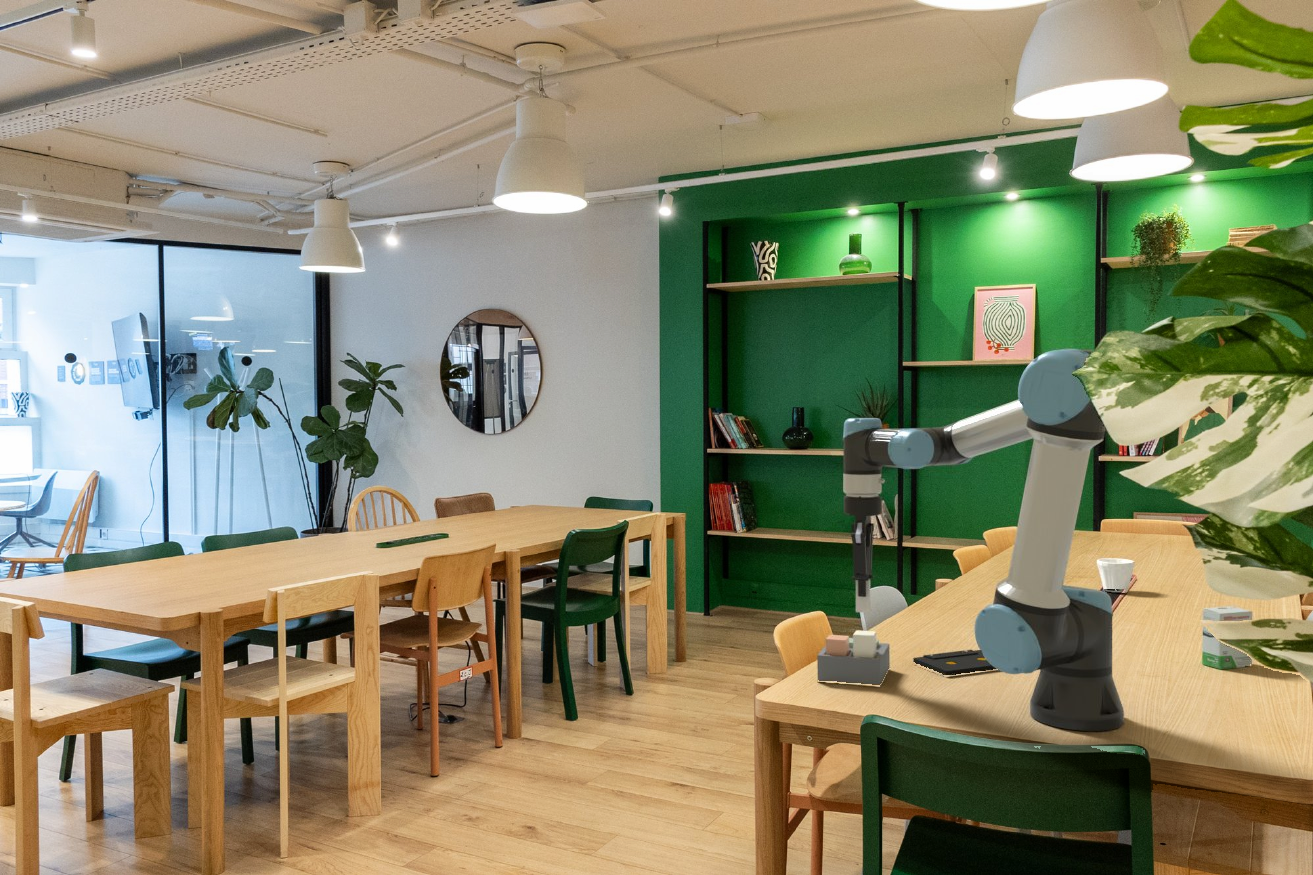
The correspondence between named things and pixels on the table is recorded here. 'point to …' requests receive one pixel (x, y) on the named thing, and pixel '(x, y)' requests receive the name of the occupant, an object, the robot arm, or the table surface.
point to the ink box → (1217, 651)
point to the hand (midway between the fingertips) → (863, 611)
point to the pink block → (837, 645)
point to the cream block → (864, 644)
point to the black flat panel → (955, 662)
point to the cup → (1115, 573)
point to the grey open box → (854, 666)
